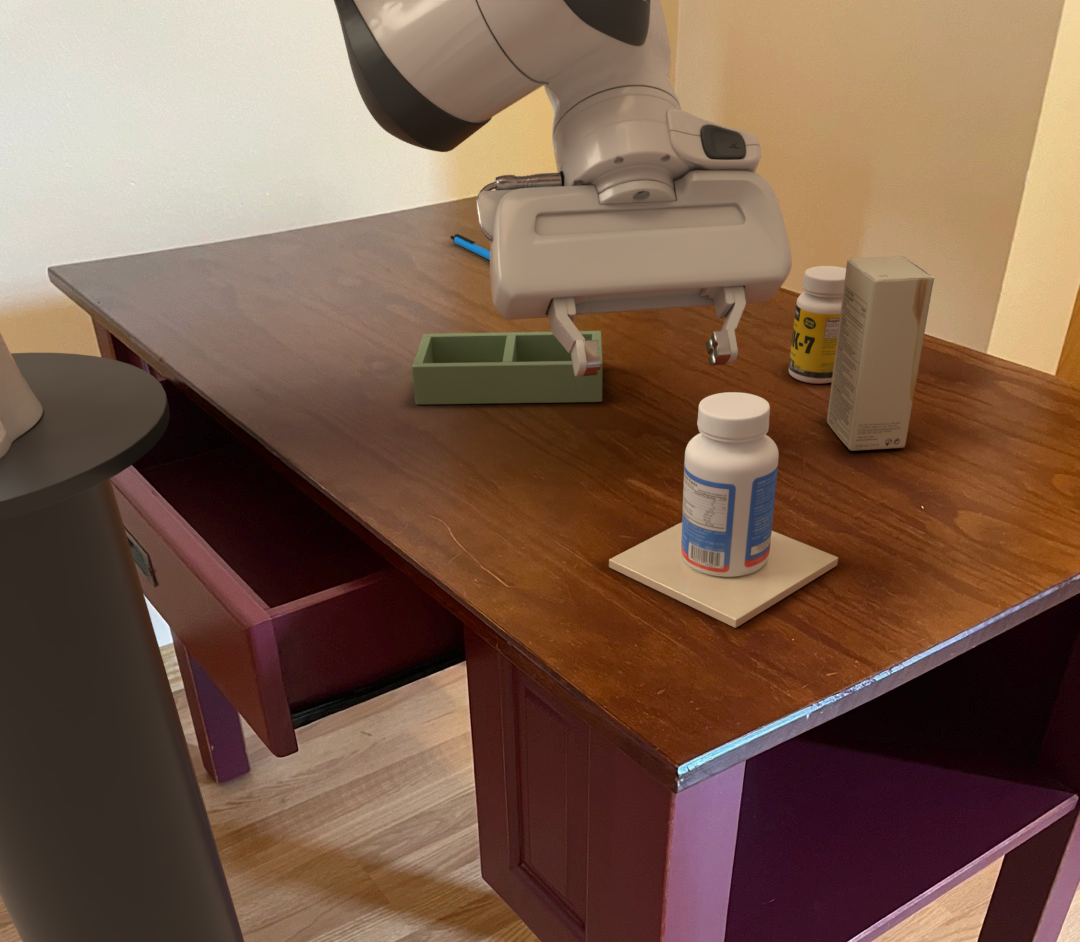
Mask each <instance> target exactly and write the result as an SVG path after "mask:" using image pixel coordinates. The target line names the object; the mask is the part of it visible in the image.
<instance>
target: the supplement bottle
mask: <svg viewBox="0 0 1080 942" xmlns="http://www.w3.org/2000/svg"><path fill="white" fill-rule="evenodd" d="M803 274H804V275H803V280H802V285H801V286H802V291H803V292H802V293H801V294H800V295H798V297H797V299H796V304H795V309H794V310H795V311H794V319H793V327H792V335H791V343H790V344H791V345H790V352H789V353H790V354H789V361H788V373H789V376H791V377H792V378H793V379H795V380H797V381H800V382H803V383H806V384H815V385H822V384H823V385H824V384H832V376H833V369H834V361H835V353H836V345H837V337H838V329H839V321H840V313H841V306H842V298H843V290H844V282H845V274H846V267H841V266H835V265H818V266H817V265H816V266H812V267H809V268H807V269H806V270H805V271H804V273H803Z"/></svg>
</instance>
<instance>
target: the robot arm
mask: <svg viewBox="0 0 1080 942" xmlns="http://www.w3.org/2000/svg"><path fill="white" fill-rule="evenodd" d="M333 3H334V6H335V9H336V12H337V15H338V19H339V20H338V21H339V24H340V26H341V31H342V35H343V40H344V45H345V49H346V53H347V57H348V61H349V66H350V70H351V72H352V77H353V79H354V83H355V86H356V87H357V90H358V92H359V95H360V97H361V100H362V102H363V103H364V105H365V108H366V109H367V110H368V112H369V113H370V115H371V117H372V118H373V120H374V121H375V122H376V123H377V124H378V125H379V126H380V127H381V129H383V130H384V131H385V132H386V133H388V134H389V135H390V136H393V137H394V138H396V139H397V140H400V141H402V142H404V143H406V144H409V145H411V146H414V147H417V148H420V149H423V150H427V151H432V152H439V153H448V152H451V151H453V150H455V149H456V148H457V147H459V146H460V145H461V144H462V143H463V142H465V141H466V140H467V139H469V138H470V137H471V136H472V135H474V134H475V133H476V132H478V131H479V130H481V129H482V128H483V127H485V126H486V125H487V124H489V122H491V121H492V118H493V117H495V116H496V115H498V114H500V113H502V112H503V111H505V110H506V109H508V108H510V107H511V106H513V105H514V104H516V103H517V102H519V101H521V100H522V99H524V98H526V97H528V96H529V95H531V94H532V93H534V92H536V91H538V90H539V89H541V88H542V87H543V88H544V91H545V94H546V96H547V99H548V100H549V102H550V104H551V107H552V110H553V111H552V112H553V120H552V129H551V140H552V146H553V152H554V158H555V159H554V160H555V164H556V165H555V166H556V171H557V172H541V173H533V174H528V175H527V174H526V175H516V174H502V175H499V176H496V177H495V178H494V181H492V182H490V183H488V184H486V185H485V186H483V187H482V189H480V191H479V192H478V193H477V197H476V201H475V208H476V214H477V221H478V226H479V229H480V230H481V231H480V232H481V233H482V234H483V236H484V237H485V238H486V239H487V240H488V241H489V242H490V243H489V244H490V245H489V248H490V249H489V251H490V260H489V280H490V281H489V282H490V292H491V293H490V294H491V302H492V306H493V307H494V309H495V310H496V311H497V312H498V313H499V314H500V315H501V316H502V317H503V318H504V319H506V320H508V321H509V320H510V321H511V320H512V321H515V320H527V319H528V320H529V319H541V318H548V325H549V330H550V331H549V332H552V334H553V335H554V336H555V337H556V338H557V340H558V341H559V342H560V343H561V344H562V346H563V347H564V348H565V349H566V350H567V352H568V353H571V358H572V364H573V370H574V374H575V376H576V377H579V376H591V375H597V374H598V371H599V370H600V368H601V358H600V355H599V354H598V351H599V346H598V340H586V341H585V338H584V337H583V336H582V334H581V333H580V331H581V330H579V329H578V327H577V326H576V324H575V323H574V319H575V318H576V316H585V315H586V316H587V315H599V314H600V315H601V314H615V313H630V312H643V311H657V310H674V309H687V308H688V309H689V308H701V307H702V308H703V307H714V311H715V317H716V319H718V320H721V319H722V320H723V319H724V320H723V323H722V326H721V329H720V330H715V331H713V332H712V333H711V335H710V338H708V340H707V341H706V342H705V347H706V354H708V356H709V357H708V364H709V366H710V367H711V366H727V365H728V366H729V365H733V363H735V361H736V359H738V354H739V348H738V342H737V336H736V331H737V328H738V325H739V323H740V321H741V318H742V315H743V313H744V310H745V308H746V305H747V304H761V303H767V302H769V301H770V300H771V299H773V297H774V296H775V295H776V293H778V291H779V290H780V289H781V288H782V287H783V285H784V284H785V282H786V280H787V278H788V277H789V275H790V273H791V270H792V265H793V256H792V251H791V246H790V241H789V237H788V232H787V228H786V223H785V221H784V217H783V213H782V209H781V207H780V204H779V200H778V198H777V195H776V193H775V190H774V188H773V187H772V186H771V184H770V182H769V181H768V180H767V179H766V178H765V177H763V176H762V175H761V174H759V173H757V172H756V171H757V168H758V166H759V164H760V161H761V158H762V150H761V144H760V141H759V140H758V139H759V138H757V137H756V136H755V134H753V133H750V132H748V131H745V130H741V129H737V128H734V127H730V126H726V125H722V124H720V123H716V122H713V121H710V120H707V119H704V118H702V117H699V116H696V115H693V114H692V113H689V112H687V111H685V110H682V108H681V104H680V101H679V98H678V96H677V94H676V92H675V90H674V88H673V86H672V83H671V79H670V74H671V73H670V71H671V64H672V51H671V46H670V39H669V34H668V29H667V28H668V27H667V24H666V20H665V14H664V10H663V6H662V3H661V0H333ZM11 353H12V352H11V351H10V349H9V347H8V346H7V343H6V340H5V339H4V336H3V334H2V332H1V331H0V458H2V457H3V456H4V455H5V454H6V453H7V452H8V450H9V448H10V446H11V444H12V442H13V441H14V440H15V439H17V438H18V437H19V436H21V435H22V434H24V433H25V432H27V431H28V430H29V429H31V428H32V427H33V426H34V425H35V424H36V423H37V422H38V421H39V420H40V418H41V416H42V414H43V407H42V405H41V403H40V402H39V400H38V399H37V397H36V396H35V394H34V393H33V392H32V390H31V388H30V387H29V385H28V384H27V382H26V381H25V379H24V377H23V375H22V374H21V372H20V370H19V368H18V367H17V365H16V363H15V361H14V359H13V357H12V355H11Z"/></svg>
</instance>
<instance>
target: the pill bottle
mask: <svg viewBox="0 0 1080 942" xmlns="http://www.w3.org/2000/svg"><path fill="white" fill-rule="evenodd" d="M697 409H698V410H697V411H698V413H697V421H696V426H697V429H698V432H699V433H697V434H696V435H694V436H693V437H692V438H691V439H690V440H689V441H688V443H687V445H686V447H685V451H684V461H683V462H684V463H683V487H682V488H683V490H682V514H681V515H682V518H681V522H682V539H681V553H682V557H683V559H684V561H685V562H686V563H687V565H689V566H690V567H691V568H693V569H695V570H697V571H699V572H701V573H705V574H708V575H713V576H721V577H736V576H742V575H747V574H750V573H753V572H755V571H757V570H758V569H760V568H761V567H762V566H763V565H764V564H765V563H766V561H767V560H768V557H769V551H770V543H771V533H772V531H773V523H774V522H773V521H774V511H775V503H776V502H775V501H776V492H777V491H776V490H777V480H778V469H779V457H780V455H779V448H778V446H777V444H776V442H775V441H774V439H772V437H770V436H769V435H767V433H768V432H769V429H770V428H769V427H770V415H771V405H770V403H769V402H768V401H767V400H766V399H765V398H764V397H761V396H759V395H756V394H752V393H747V392H738V391H737V392H736V391H733V392H732V391H728V392H727V391H726V392H719V393H714V394H711V395H708V396H706V397H703V399H701V400H700V402H699V403H698V408H697Z"/></svg>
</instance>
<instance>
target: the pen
mask: <svg viewBox="0 0 1080 942" xmlns="http://www.w3.org/2000/svg"><path fill="white" fill-rule="evenodd" d="M450 240H452V241H453V243H454V244H455V245H457V246H459V247H462V248H464V249H466V250H468V251H470V252H472V253H474V254H475V255H477V256H480V257H482V258H484V259H486V260H488V261H490V250H488V249H487V248H484V247H482V246H480V245H478V244H476V241H474V240H472V239H470V238H468V237H465V236H464V235H461V234H460V233H456V234H454V235H450Z"/></svg>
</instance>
